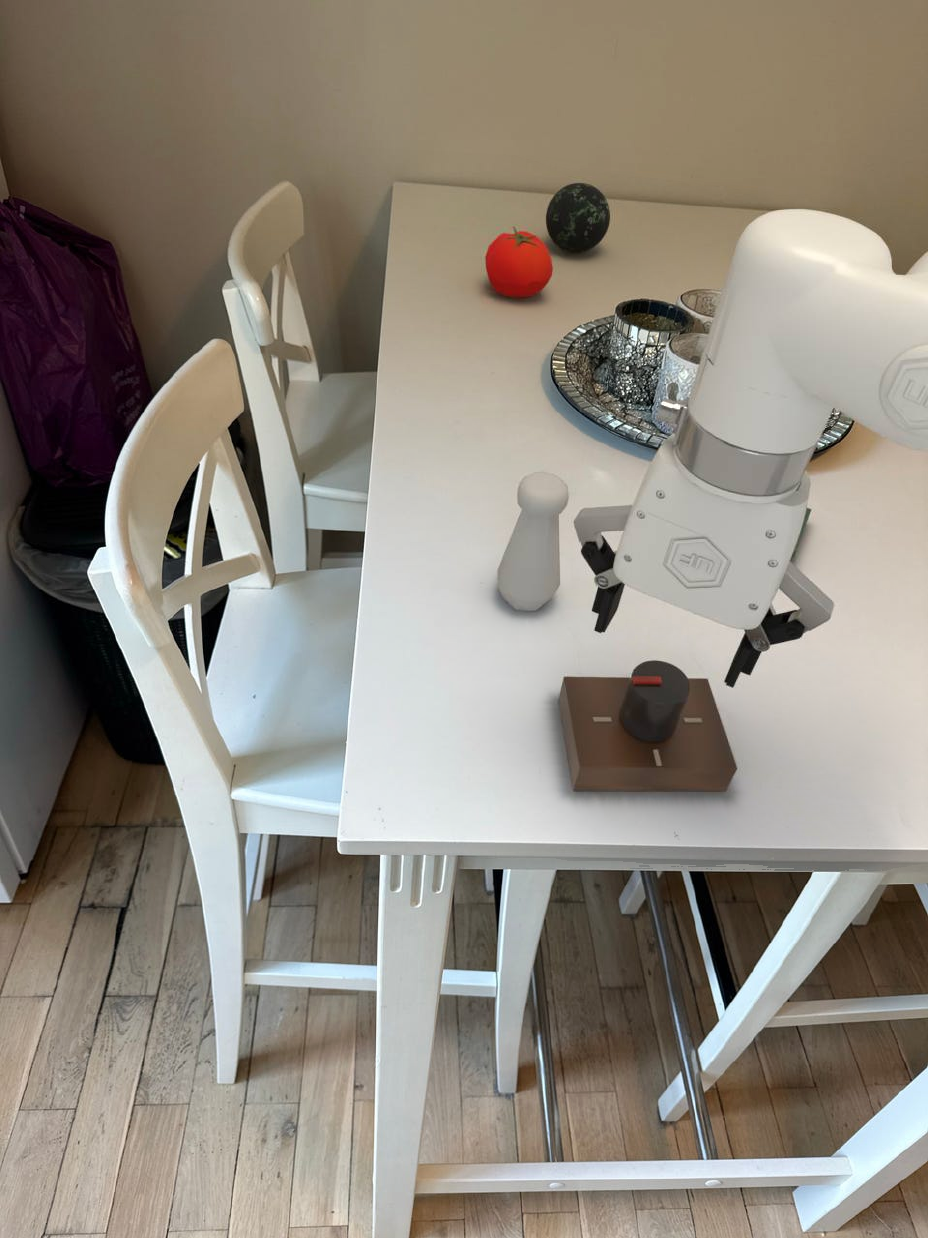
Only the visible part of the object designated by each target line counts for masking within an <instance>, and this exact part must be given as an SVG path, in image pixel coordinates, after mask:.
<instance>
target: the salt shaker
mask: <svg viewBox="0 0 928 1238" xmlns="http://www.w3.org/2000/svg"><path fill="white" fill-rule="evenodd" d="M569 492H570V491H569V486H568V484H567V483H566V482H565V481H564V480H563V479H562V478H561V477H560V476H558V475H556V474H554V473H551V472H547V471H535V472H532V473H529V474H527V475H525V476H524V477H523V478H522V479H521V481H520V482H519V484H518V486H517V492H516V496H517V497H516V499H517V505H518V506H519V507H520V509H521V511H520V513H519V515H518V518H517V520H516V523H515V526H514V527H513V530H512V533H511V536H510V537H509V540H508V542H507V546H506V547H505V550H504V552H503V555H502V558H501V560H500V562H499V565H498V567H497V570H496V581H497V582H496V583H497V586H498V589H499V591H500V593H501V597H502V599H503V600H505V602H507V603H508V605H510V606H511V607H512V608H513V609H514V610H515V611H526V612H527V611H528V612H536V611H538V610H539V609H540V608H541V607H543V606H544V605H545V604H546V603H547V602H548V601H549V600H550V599H552V597H554V595H555V594H556V592H557V591H558V589H560V588H559V587H560V585H561V558H560V557H561V556H560V555H561V554H560V553H561V552H560V515H561V514H562V513H563V511H564V510H565V509H566V508H567V506H568V502H569V496H570V495H569V494H570V493H569Z"/></svg>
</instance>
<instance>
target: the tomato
mask: <svg viewBox="0 0 928 1238" xmlns="http://www.w3.org/2000/svg"><path fill="white" fill-rule="evenodd" d="M512 227H513V231H514V233H508V232H507V233H506V232H502V233H501V234H499V235H498V236H497V237H496V238H495V239H494V240H493V241H492V242H491V243H490V244H489V245H488V247H487V251H486V254H485V256H484V257H485V259H484V260H485V271H486V275H487V278H488V282H489V284H490V286H491V287H492V289H493V290H494V291H495V292H496V293H497V294H499V295H502V296H506V297H509V298H517V299H518V298H519V299H520V298H521V299H522V298H525V297H532V296H535V295H536V294H538V293H540V292H541V291H543V290H544V289H545V287H546V286H547V285H548V284H549V282H550V281H551V278H552V277H553V271H554V266H553V260H552V256H551V254H550V252H549V249H548V246H547V245H546V244H545V243H544V242H543V241H542V240H541V239H540V238H539V236H538V235H537V234H533V233H531V232H529V231H524V230H522V231H521V230H519V231H518V230H517V229H516V227H515V226H514V225H512Z"/></svg>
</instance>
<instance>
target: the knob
mask: <svg viewBox="0 0 928 1238" xmlns="http://www.w3.org/2000/svg"><path fill="white" fill-rule="evenodd" d="M629 678H630V681H629V685H628V688H627V691H626V694H625V697H624V700H623V704H622V707H621V710H620V721H621V724H622V726H623V727H624V729H625V730H626V731H627V732H628V733H629V734H630V735H632V736H633V737H635V738H637V739H639V740H641V741H645V742H652V743H655V742H661V741H664V740H667V739H668V738H670V737H671V736H672V735H673V733H674V732H675V729H676V727H677V724H678V722H679V719H680V716H681V714H682V711H683V709H684V706H685V704H686V701H687V699H688V696H689V694H690V689H691V688H690V682H689V680H688V678H689V677H688V676H687V675H686V674H685V673H684V671H683V670H681V669H680V668H679V667H678V666H676V665H674V664H672V663H670V662H667V661H663V660H655V659H654V660H646V661H643V662H641V663H639V664H637V666H635V667H634V669H633V670H632V673H631V675H630V677H629Z"/></svg>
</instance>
